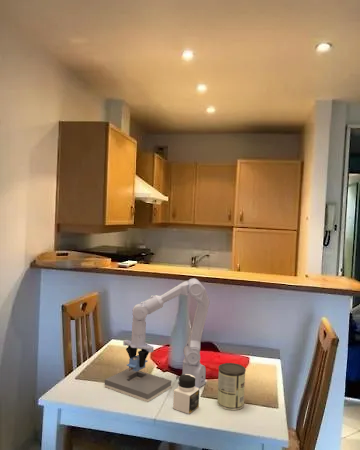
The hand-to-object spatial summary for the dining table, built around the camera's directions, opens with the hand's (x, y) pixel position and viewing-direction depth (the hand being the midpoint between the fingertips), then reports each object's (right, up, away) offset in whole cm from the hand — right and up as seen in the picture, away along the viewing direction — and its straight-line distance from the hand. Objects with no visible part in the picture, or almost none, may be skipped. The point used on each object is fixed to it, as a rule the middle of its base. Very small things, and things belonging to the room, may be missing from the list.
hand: (137, 365), depth 173 cm
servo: (0, -1, 0) cm, 1 cm away
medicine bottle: (+20, -9, -20) cm, 30 cm away
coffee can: (+37, -10, -15) cm, 41 cm away
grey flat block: (+1, -8, -4) cm, 9 cm away
